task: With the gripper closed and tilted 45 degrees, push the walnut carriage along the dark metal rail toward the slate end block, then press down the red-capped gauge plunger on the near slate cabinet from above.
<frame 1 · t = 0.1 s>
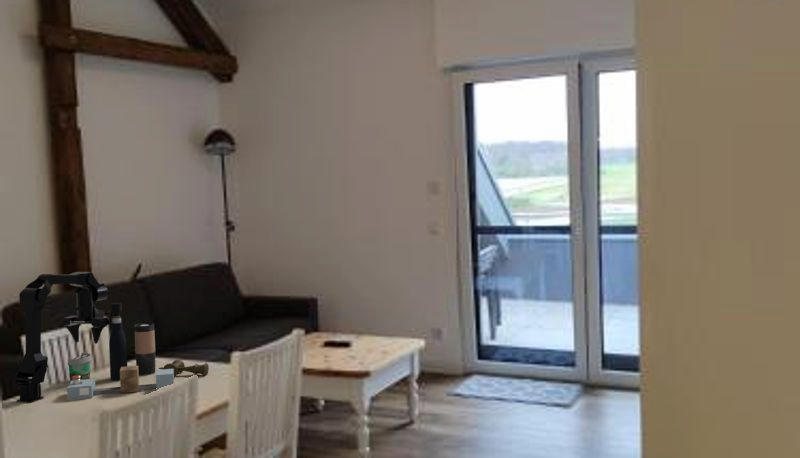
hand: (86, 342, 283), 15 cm above the table, tool pointing down, fingers open, 9 cm apart
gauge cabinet: (81, 395, 262), on the table
food container: (83, 381, 282), on the table
carriage: (129, 379, 266), point 4 cm above the table, slide at 0.0 cm
kendama: (183, 376, 288), on the table
end block: (165, 387, 270), on the table
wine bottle: (119, 378, 285), on the table
travel mug: (146, 373, 293), on the table
gauge plunger: (76, 383, 261), point 5 cm above the table, slide at 0.0 cm
rail: (125, 391, 266), on the table
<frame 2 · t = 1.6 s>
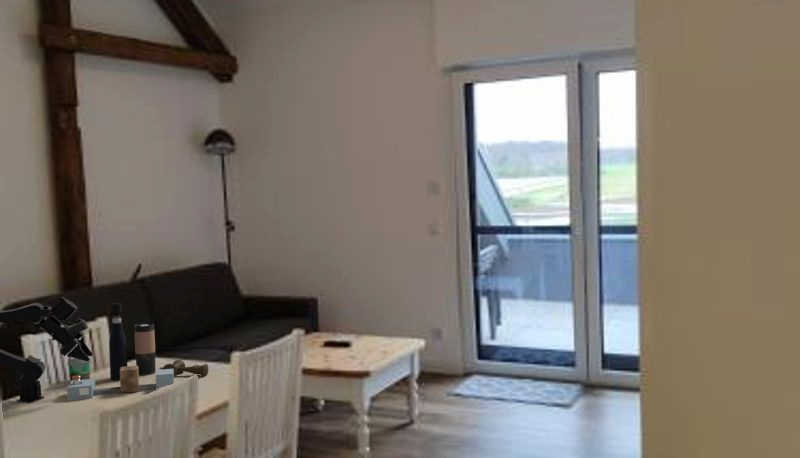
hand: (90, 357, 262), 13 cm above the table, tool tilted 45°, fingers open, 8 cm apart
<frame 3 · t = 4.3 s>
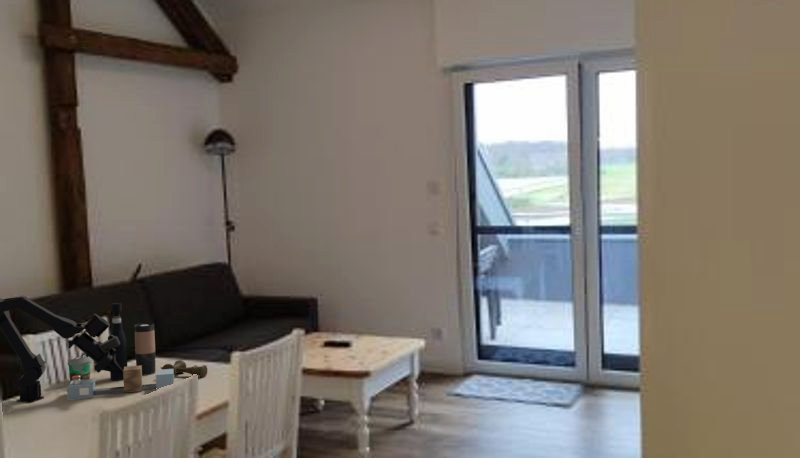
hand: (123, 373, 266), 7 cm above the table, tool tilted 45°, fingers closed, pressing on carriage
carriage: (132, 378, 267), point 4 cm above the table, slide at 1.2 cm, touching gripper
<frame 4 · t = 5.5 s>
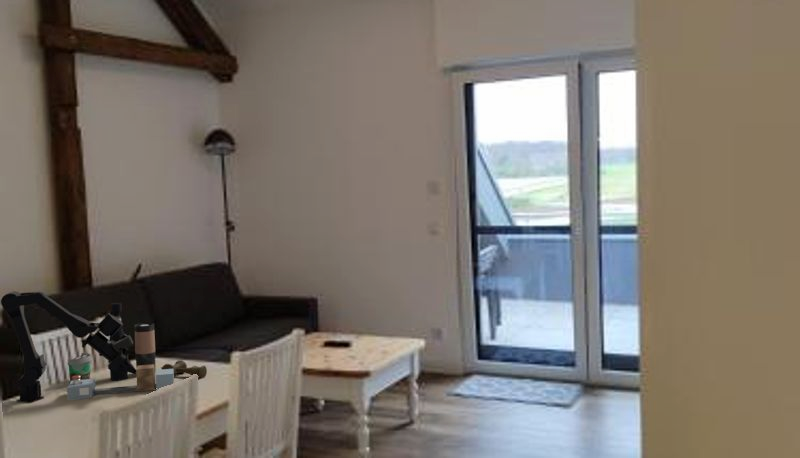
hand: (136, 372, 267), 7 cm above the table, tool tilted 45°, fingers closed
carriage: (145, 377, 268), point 4 cm above the table, slide at 5.7 cm
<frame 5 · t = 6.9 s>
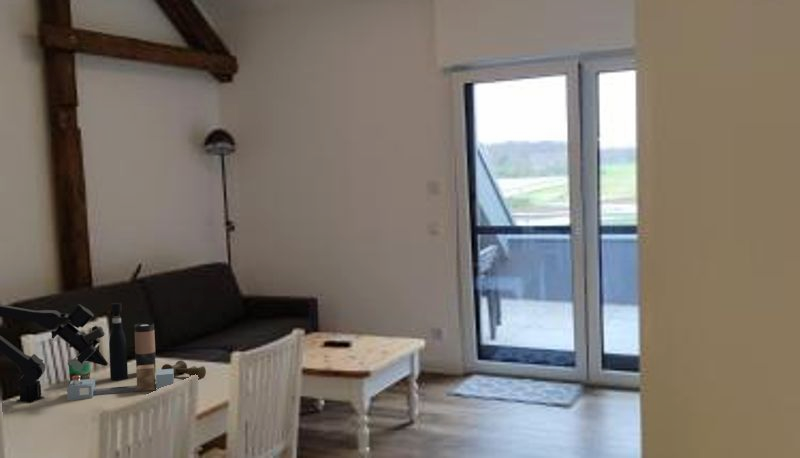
hand: (107, 364, 264), 10 cm above the table, tool tilted 45°, fingers closed
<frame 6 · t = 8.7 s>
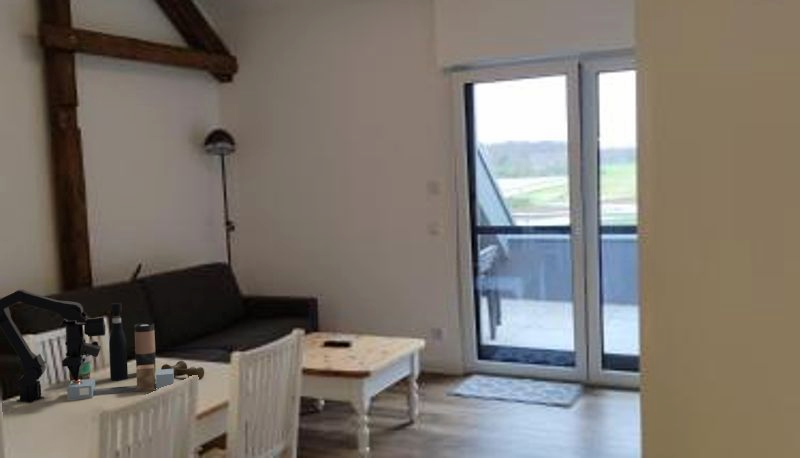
hand: (76, 380, 261), 6 cm above the table, tool pointing down, fingers closed, pressing on gauge plunger
gauge plunger: (77, 386, 261), point 3 cm above the table, slide at -1.3 cm, touching gripper
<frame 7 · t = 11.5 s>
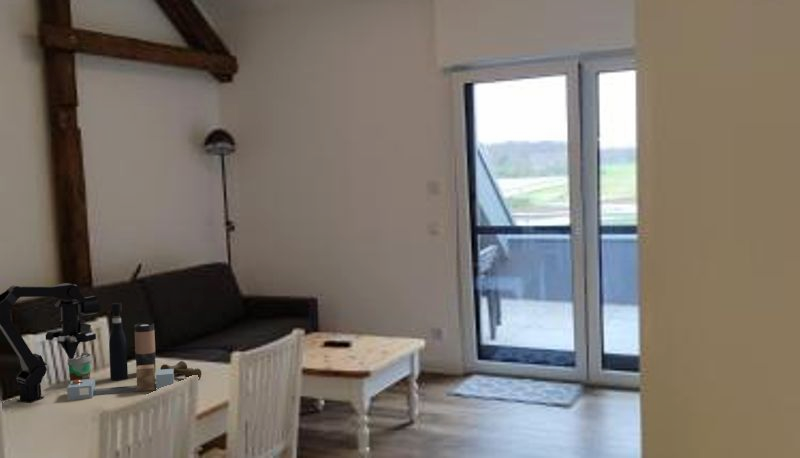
hand: (71, 358, 268), 12 cm above the table, tool pointing down, fingers closed
gauge plunger: (77, 387, 261), point 3 cm above the table, slide at -1.5 cm
at the end: carriage slide at 5.7 cm; gauge plunger slide at -1.5 cm; carriage touching nothing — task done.
